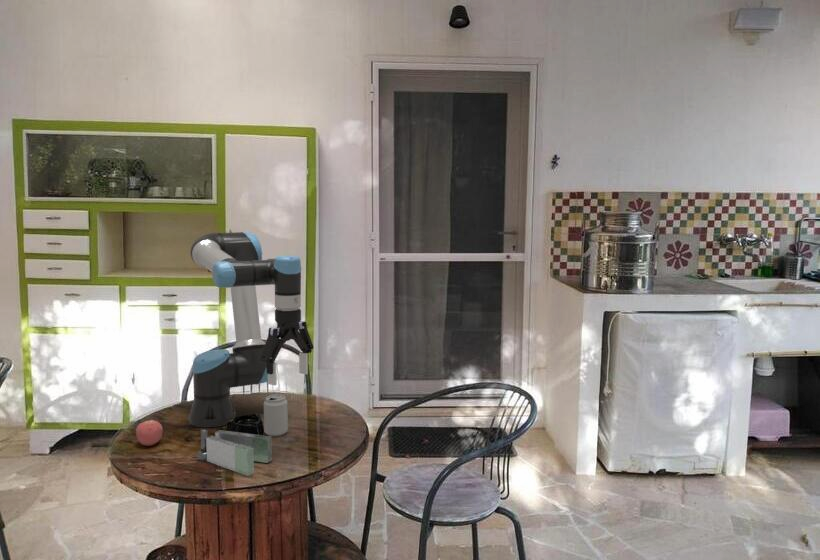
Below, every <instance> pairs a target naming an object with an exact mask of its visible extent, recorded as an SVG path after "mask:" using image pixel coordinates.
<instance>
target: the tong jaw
mask: <svg viewBox="0 0 820 560" xmlns="http://www.w3.org/2000/svg"><path fill="white" fill-rule="evenodd" d="M214 436H215V437H218V438H221V439H224V440H227V441H230V442H233V443H236V444H239V445H240V444H242V445H245V446H248V447H251V448H253V456H254V462H258V463H265V464H266V463H267V464H269V463H270V462H271V461H272V460H273V457H272V453H273V452H272V451H273V450H272V447H273V446H272V444H273V443H272V436H269V435H265V434H263V435H262V434H253V433H247V432H239V431H232V430H231V431H230V430H224V429H222V430H221V429H218V430H216V431H215V432H214Z"/></svg>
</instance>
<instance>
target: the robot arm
mask: <svg viewBox="0 0 820 560" xmlns="http://www.w3.org/2000/svg"><path fill="white" fill-rule="evenodd" d="M189 255H190V258H191V259H192V261H193V263H194V264H196V265H197V266H198V267H201V268H203V269H206V270H208V271H210V272H211V275H212V282H213V284H214V285H215V286H216V287H217V288H226V289H229V288H230V294H231V305H232V314H233V323H234V334H235V341H236V342H235V344H234V345H233V346H232V347H231V348H232V352H231V353H230V351H229V350H227V349H225V348H223V349H222V348H220V349H211V350H208V351H203V352H201V353H199V354H198V355H196V356H195V357H194V359H193V364H192V373H193V402H192V404H191V409H190V412H189V415H188V423H189V424H190V425H191V426H193V427H197V428H218V427H222V426H226V425H228V424H227V423H228V422H229V421H230V420H232V419H234V418H235V417H236V418H237V415H236V414H237V413H236V412H237V411H236V409H235V406H234V403H233V401H232V397H231V389H232V388H239V387H240V388H241V387H244V386H245V387H246V386H252V385H255V386H256V385H259V384H260V385H261V384H264V383H267V384H268V385H272V386H277V376H278V375H277V362H275V361H276V359H277V357H278V355H279V353H281V352H280V351H281V349H282V347H283V346H284V344H285V343H287V342H288V341H290V340H293V341H294V343H295V344H296V346H297V348H299V350H300V352H299V353H298V354H299V363H298V364H299V366H298V367H299V372H298V374H301V375H308V373H309V371H308V370H309V368H308V367H309V365H308V364H309V354H312V352H313V351H312V350H314V344H313V342H312V338H311V336H310V334H309V333H310V332H309V330H308V324H307V322H306V321H302V310H301V306H302V305H301V302H302V300H301V299H302V297H301V294H302V293H301V292H302V288H301V287H302V275H301V274H302V266H301V265H302V264H301V258H300V257H299V256H297V255H284V254H283V255H277V256H276V257H275V258H267V259H263V251H262V245H261V242H260V240H259V238H258V237H257V235H256V234H254V233H252V232H243V231H239V232H209V233H206V234H203V235H201V236H199V237H197V238H196V239H195V240H194V241H193V243H192V244H191V246H190V250H189ZM268 285H269V286H270V285H271V286H272V285H274V308H275V310H274V321H275V323H276V327H269V328H268V335H267V338H266V341H264V340H262V334H261V324H260V315H259V307H258V306H259V305H258V296H257V290H256V289H257V288H256V286H268Z"/></svg>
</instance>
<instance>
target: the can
mask: <svg viewBox="0 0 820 560" xmlns="http://www.w3.org/2000/svg"><path fill="white" fill-rule="evenodd" d="M288 413H289V412H288V400H287V399H286V396H285V395H283V394H270V395H268V396H266V397H265V400H264V401H263V432H264V433H265V434H266V436H271V437H281V436H283V435H285V434H286V433H287V432H288V430H289V429H288V428H289V424H288V421H289V420H288V417H289V415H288Z"/></svg>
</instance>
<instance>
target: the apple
mask: <svg viewBox="0 0 820 560" xmlns="http://www.w3.org/2000/svg"><path fill="white" fill-rule="evenodd" d="M163 434H164V429H163V425H162V424H161V423H160V421H157V420H156V419H155V420H154V419H151V418H149V419H148V420H145V421H142V422H141V423H139V424H138V425H137V426H136V429H135V436H136V438H137V441H138V442H139V443H140V444H141V445H143V446H145V447H146V446H147V447H149V446H154V445H155V444H157V443H158V442H159V441H160V440H161V438H162V436H163Z"/></svg>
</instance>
